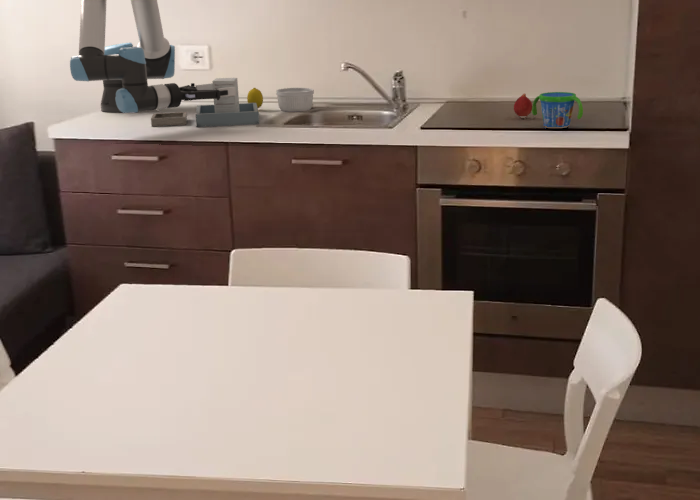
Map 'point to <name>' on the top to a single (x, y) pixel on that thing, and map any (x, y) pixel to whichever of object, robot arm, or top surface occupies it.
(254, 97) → the lemon
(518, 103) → the onion
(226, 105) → the supplement box
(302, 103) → the ramekin
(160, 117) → the collar
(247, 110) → the tray
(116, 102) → the robot arm
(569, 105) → the snack cup
